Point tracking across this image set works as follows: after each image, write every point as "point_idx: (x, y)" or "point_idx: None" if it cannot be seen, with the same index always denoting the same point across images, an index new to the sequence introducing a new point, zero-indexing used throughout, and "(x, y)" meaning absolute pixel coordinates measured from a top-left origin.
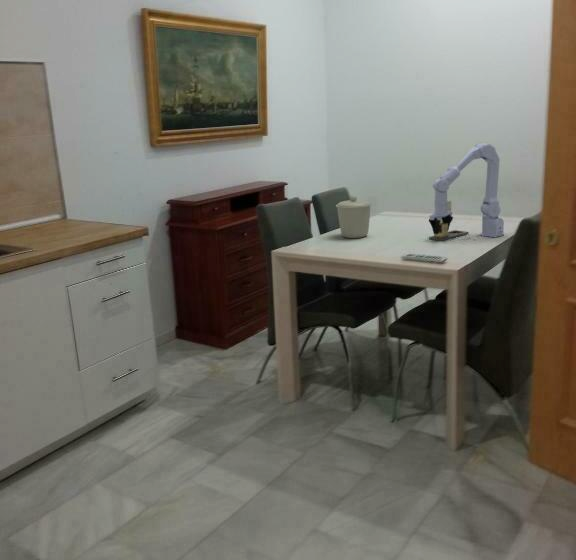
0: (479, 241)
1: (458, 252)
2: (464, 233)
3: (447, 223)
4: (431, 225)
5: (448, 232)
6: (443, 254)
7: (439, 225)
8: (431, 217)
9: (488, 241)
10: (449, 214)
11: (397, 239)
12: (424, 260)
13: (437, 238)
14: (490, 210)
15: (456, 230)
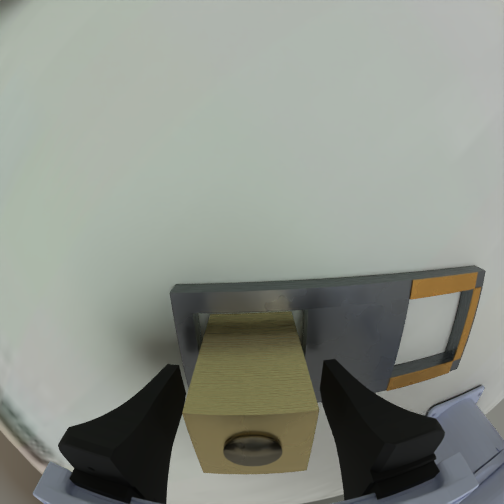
0: (312, 474)
1: None
2: (427, 376)
3: (302, 470)
4: (117, 410)
5: (417, 297)
6: None
7: (200, 450)
8: (54, 495)
9: (328, 483)
10: (427, 491)
11: (50, 96)
12: (13, 429)
13: (185, 371)
14: None
15: (478, 292)
